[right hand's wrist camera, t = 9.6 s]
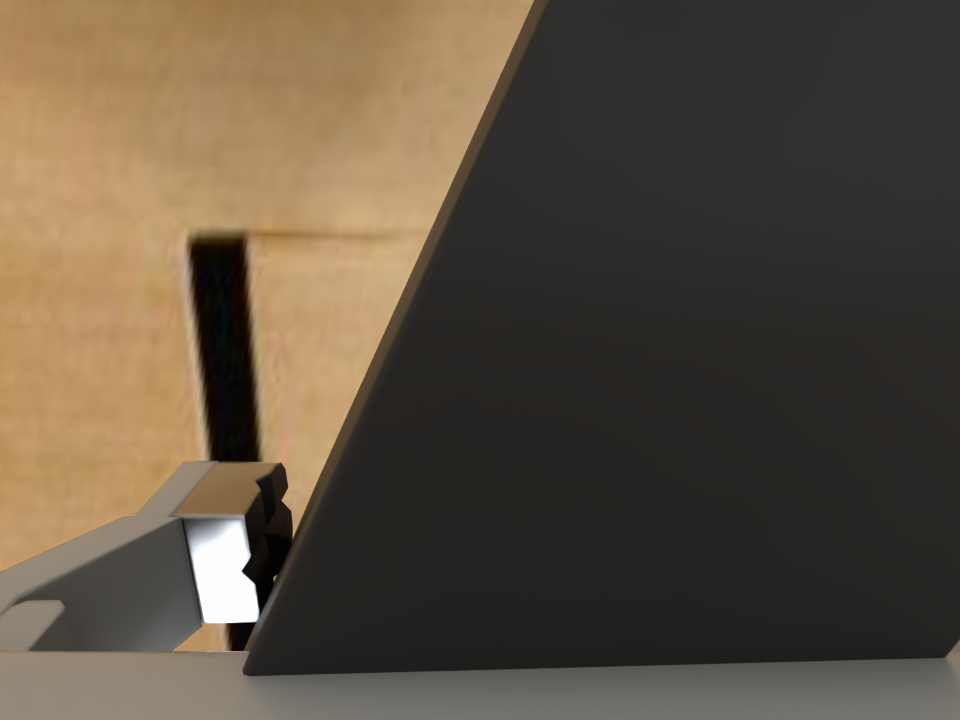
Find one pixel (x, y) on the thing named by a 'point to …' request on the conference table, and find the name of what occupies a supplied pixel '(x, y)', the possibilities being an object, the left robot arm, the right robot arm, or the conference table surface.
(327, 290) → the conference table surface
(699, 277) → the bar
